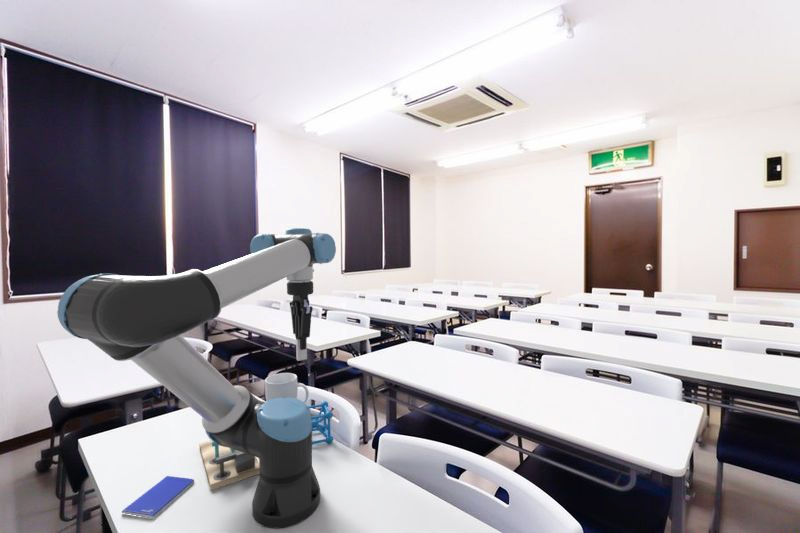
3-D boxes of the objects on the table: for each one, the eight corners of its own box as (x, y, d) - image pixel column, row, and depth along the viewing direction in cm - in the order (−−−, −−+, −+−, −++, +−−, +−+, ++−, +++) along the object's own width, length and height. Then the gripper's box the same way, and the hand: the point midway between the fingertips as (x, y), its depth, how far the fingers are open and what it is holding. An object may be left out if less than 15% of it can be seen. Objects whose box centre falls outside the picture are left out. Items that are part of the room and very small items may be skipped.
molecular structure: (333, 444, 109) (333, 412, 108) (300, 451, 105) (299, 418, 105) (328, 428, 118) (327, 399, 118) (296, 434, 114) (296, 404, 114)
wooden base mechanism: (261, 472, 95) (260, 449, 95) (210, 490, 88) (209, 466, 88) (242, 435, 114) (241, 416, 114) (199, 448, 107) (198, 427, 107)
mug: (309, 404, 136) (308, 370, 136) (308, 417, 126) (307, 381, 125) (268, 408, 133) (267, 374, 132) (263, 422, 122) (262, 385, 122)
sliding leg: (247, 452, 101) (246, 433, 101) (213, 462, 96) (212, 443, 96) (245, 447, 104) (244, 429, 104) (211, 457, 99) (211, 438, 99)
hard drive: (152, 514, 79) (194, 478, 91) (121, 510, 81) (166, 475, 93) (153, 521, 79) (194, 484, 91) (121, 516, 81) (166, 481, 93)
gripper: (320, 281, 103) (322, 362, 104) (304, 278, 113) (306, 352, 115) (295, 283, 98) (296, 367, 100) (280, 280, 109) (282, 356, 110)
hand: (301, 359), depth 107 cm, fingers closed
